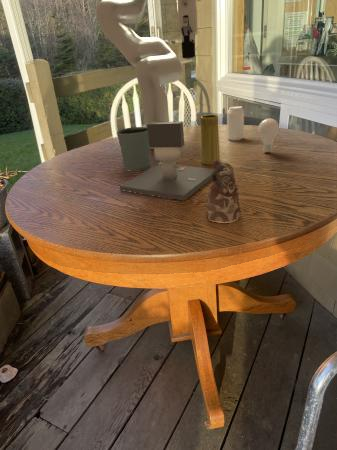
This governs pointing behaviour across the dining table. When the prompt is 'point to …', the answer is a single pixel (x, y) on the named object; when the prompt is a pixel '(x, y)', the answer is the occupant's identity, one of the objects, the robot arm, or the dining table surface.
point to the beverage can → (235, 123)
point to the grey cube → (166, 139)
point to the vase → (209, 139)
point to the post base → (169, 180)
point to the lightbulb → (268, 133)
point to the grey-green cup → (135, 148)
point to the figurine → (223, 194)
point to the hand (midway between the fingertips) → (189, 57)
